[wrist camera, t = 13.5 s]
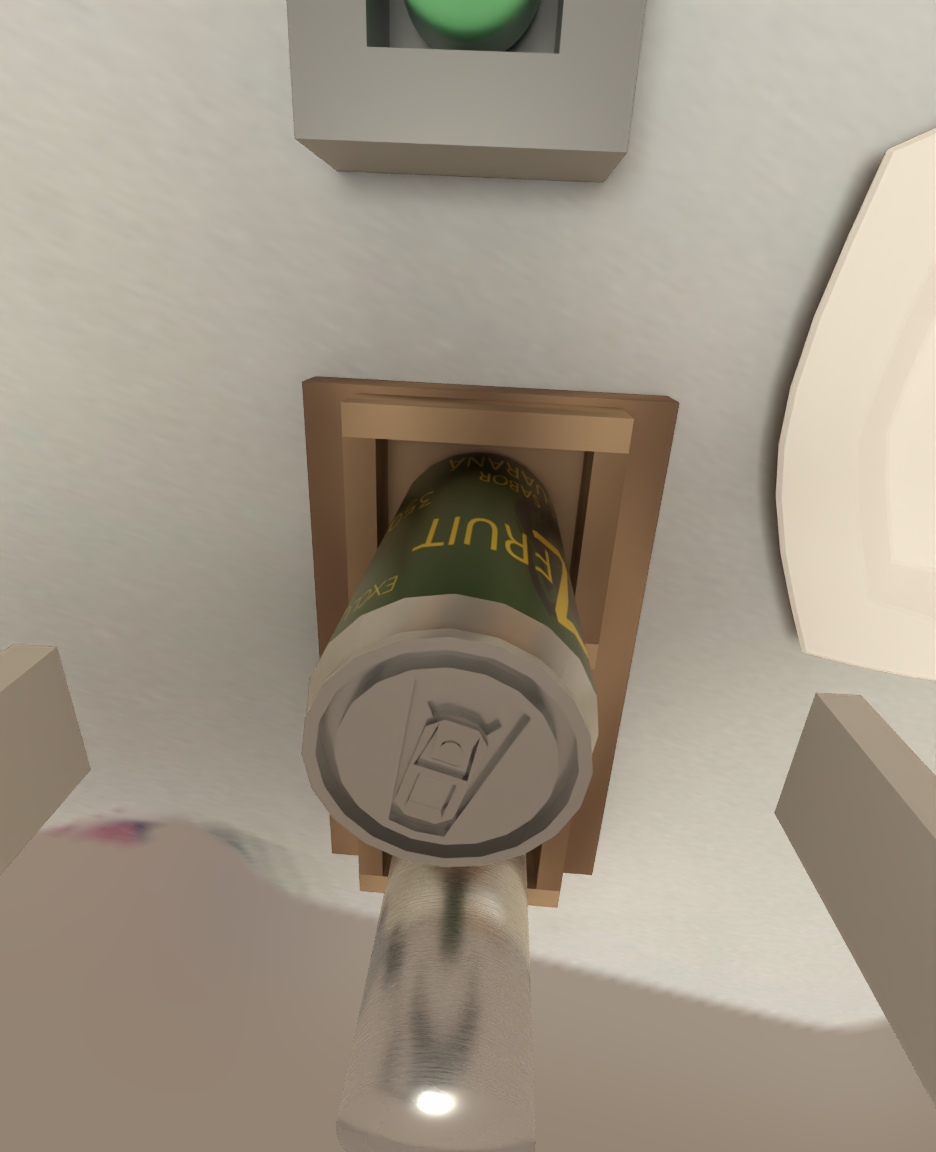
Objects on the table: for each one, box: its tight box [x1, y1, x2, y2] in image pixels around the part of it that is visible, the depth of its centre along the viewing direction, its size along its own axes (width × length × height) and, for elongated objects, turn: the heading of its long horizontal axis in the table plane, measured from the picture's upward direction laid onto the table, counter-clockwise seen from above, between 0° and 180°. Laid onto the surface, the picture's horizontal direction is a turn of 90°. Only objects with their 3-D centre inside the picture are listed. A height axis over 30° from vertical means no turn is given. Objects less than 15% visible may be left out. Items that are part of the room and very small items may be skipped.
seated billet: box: [336, 854, 536, 1152], centre depth 21 cm, size 5×5×12 cm
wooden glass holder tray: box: [302, 377, 679, 908], centre depth 23 cm, size 12×21×4 cm, turn 177°
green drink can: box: [302, 452, 599, 867], centre depth 16 cm, size 5×5×12 cm
